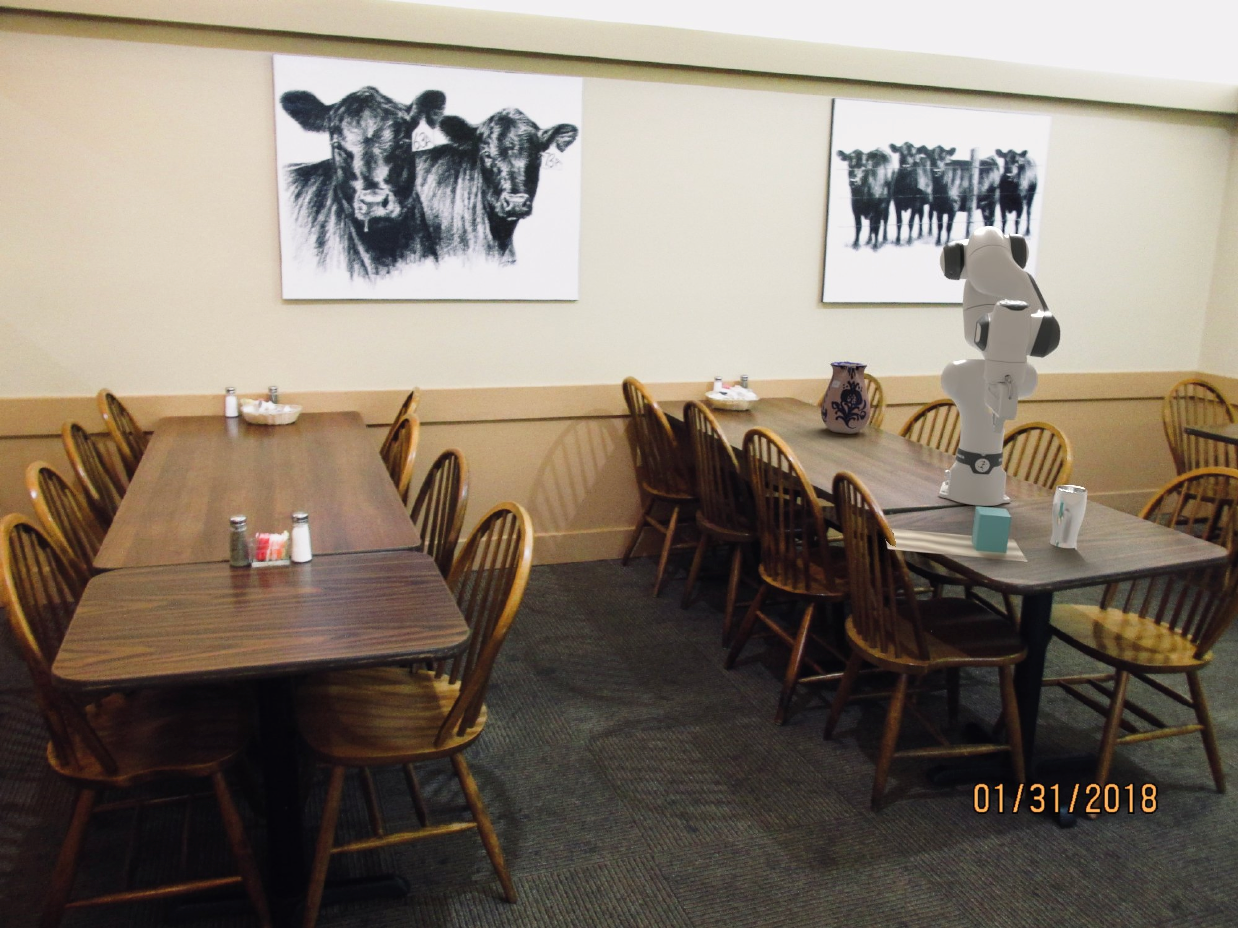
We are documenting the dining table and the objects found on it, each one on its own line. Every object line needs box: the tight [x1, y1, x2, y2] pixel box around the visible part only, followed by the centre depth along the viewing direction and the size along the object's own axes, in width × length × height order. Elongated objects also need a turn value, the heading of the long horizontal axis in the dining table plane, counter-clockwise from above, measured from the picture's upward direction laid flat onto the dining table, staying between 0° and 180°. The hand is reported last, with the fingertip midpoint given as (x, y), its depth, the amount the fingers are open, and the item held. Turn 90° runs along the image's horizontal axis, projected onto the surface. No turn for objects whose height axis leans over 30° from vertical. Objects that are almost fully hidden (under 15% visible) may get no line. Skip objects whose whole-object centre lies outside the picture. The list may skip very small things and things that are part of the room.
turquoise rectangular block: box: [971, 505, 1012, 553], centre depth 218 cm, size 7×7×9 cm
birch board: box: [885, 528, 1029, 563], centre depth 221 cm, size 16×30×2 cm, turn 78°
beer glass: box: [1049, 484, 1088, 551], centre depth 222 cm, size 7×7×15 cm
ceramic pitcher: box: [820, 360, 871, 435], centre depth 348 cm, size 18×21×25 cm
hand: (996, 431), depth 221 cm, fingers closed
